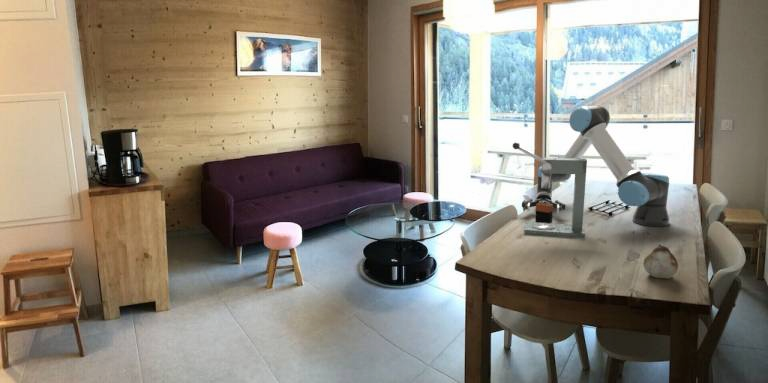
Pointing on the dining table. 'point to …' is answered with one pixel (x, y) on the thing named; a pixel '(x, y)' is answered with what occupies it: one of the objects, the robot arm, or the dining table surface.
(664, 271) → the fruit
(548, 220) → the battery
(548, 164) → the arbor press
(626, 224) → the dining table surface
